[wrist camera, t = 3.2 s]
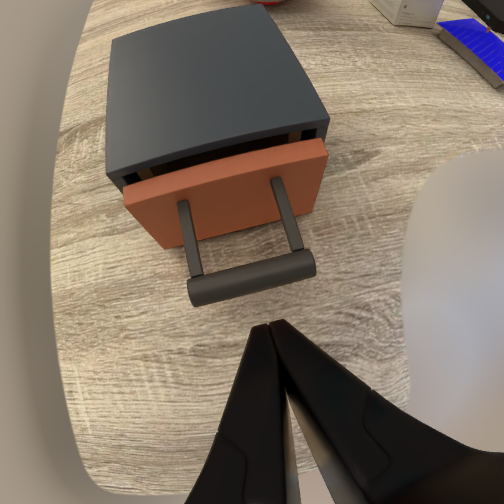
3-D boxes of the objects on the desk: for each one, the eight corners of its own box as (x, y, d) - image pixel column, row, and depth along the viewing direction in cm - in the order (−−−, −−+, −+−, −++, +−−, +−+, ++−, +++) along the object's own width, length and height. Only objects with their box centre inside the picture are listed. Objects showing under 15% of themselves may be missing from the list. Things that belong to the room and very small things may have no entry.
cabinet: (311, 195, 24) (330, 118, 15) (156, 234, 23) (105, 174, 15) (264, 78, 28) (261, 2, 19) (143, 108, 27) (111, 39, 19)
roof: (468, 28, 32) (479, 4, 27) (523, 79, 29) (539, 57, 24) (431, 34, 31) (442, 6, 26) (497, 94, 28) (515, 67, 22)
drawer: (336, 286, 21) (369, 255, 14) (179, 327, 21) (137, 314, 14) (265, 91, 26) (264, 27, 19) (147, 120, 26) (121, 62, 19)
